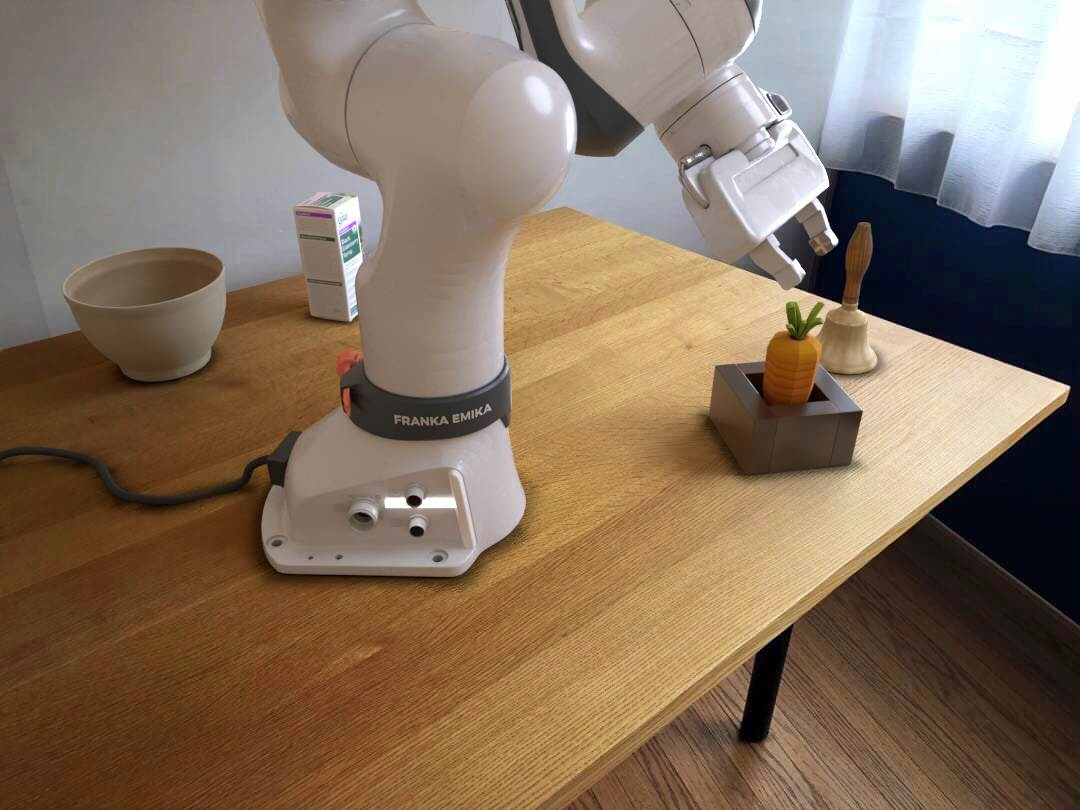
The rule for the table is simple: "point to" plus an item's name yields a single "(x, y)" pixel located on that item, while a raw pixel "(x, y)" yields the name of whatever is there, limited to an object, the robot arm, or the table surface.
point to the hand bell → (849, 315)
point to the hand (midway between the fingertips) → (814, 266)
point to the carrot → (792, 359)
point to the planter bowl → (151, 309)
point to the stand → (782, 422)
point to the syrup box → (330, 252)
